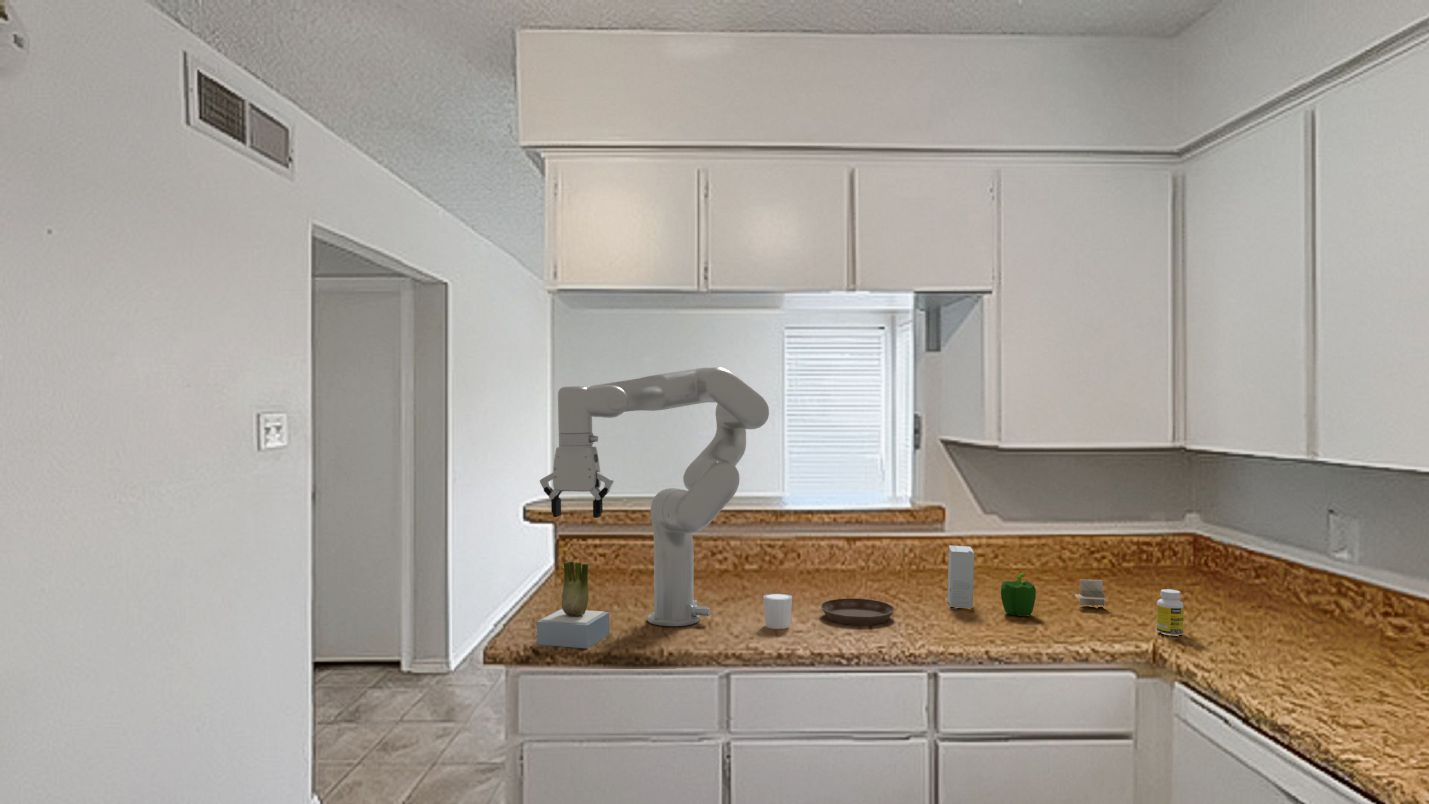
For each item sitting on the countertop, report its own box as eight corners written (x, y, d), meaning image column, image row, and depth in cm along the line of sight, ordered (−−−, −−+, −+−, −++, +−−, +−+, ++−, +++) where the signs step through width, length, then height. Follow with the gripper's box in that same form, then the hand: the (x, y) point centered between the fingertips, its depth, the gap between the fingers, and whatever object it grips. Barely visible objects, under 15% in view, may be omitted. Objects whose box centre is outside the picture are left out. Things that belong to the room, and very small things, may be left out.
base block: (609, 634, 207) (609, 611, 207) (587, 648, 195) (587, 623, 195) (560, 630, 210) (560, 607, 210) (536, 644, 198) (536, 620, 198)
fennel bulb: (591, 615, 202) (591, 561, 202) (572, 619, 199) (572, 564, 199) (575, 611, 206) (575, 558, 206) (557, 615, 203) (557, 561, 203)
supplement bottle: (1171, 638, 203) (1171, 594, 203) (1151, 632, 208) (1151, 589, 208) (1188, 635, 206) (1189, 592, 206) (1168, 630, 211) (1168, 587, 211)
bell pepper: (1018, 620, 220) (1018, 578, 220) (994, 612, 227) (994, 572, 227) (1044, 616, 223) (1044, 575, 223) (1019, 609, 231) (1020, 569, 231)
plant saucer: (905, 626, 215) (905, 613, 215) (832, 629, 212) (832, 616, 212) (879, 609, 232) (879, 597, 232) (812, 611, 230) (812, 599, 229)
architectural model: (1106, 612, 229) (1106, 583, 229) (1077, 611, 231) (1077, 582, 230) (1103, 609, 232) (1103, 580, 232) (1074, 608, 234) (1074, 579, 234)
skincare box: (947, 601, 240) (947, 545, 239) (970, 602, 239) (970, 545, 239) (950, 609, 231) (950, 550, 231) (974, 609, 230) (974, 551, 230)
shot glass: (762, 622, 218) (762, 592, 218) (791, 622, 218) (791, 593, 218) (763, 629, 211) (763, 599, 211) (793, 629, 211) (793, 599, 211)
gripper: (617, 440, 208) (618, 515, 208) (546, 440, 212) (548, 513, 212) (606, 442, 201) (607, 519, 201) (533, 442, 205) (534, 518, 205)
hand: (577, 516), depth 207 cm, fingers open, 9 cm apart
